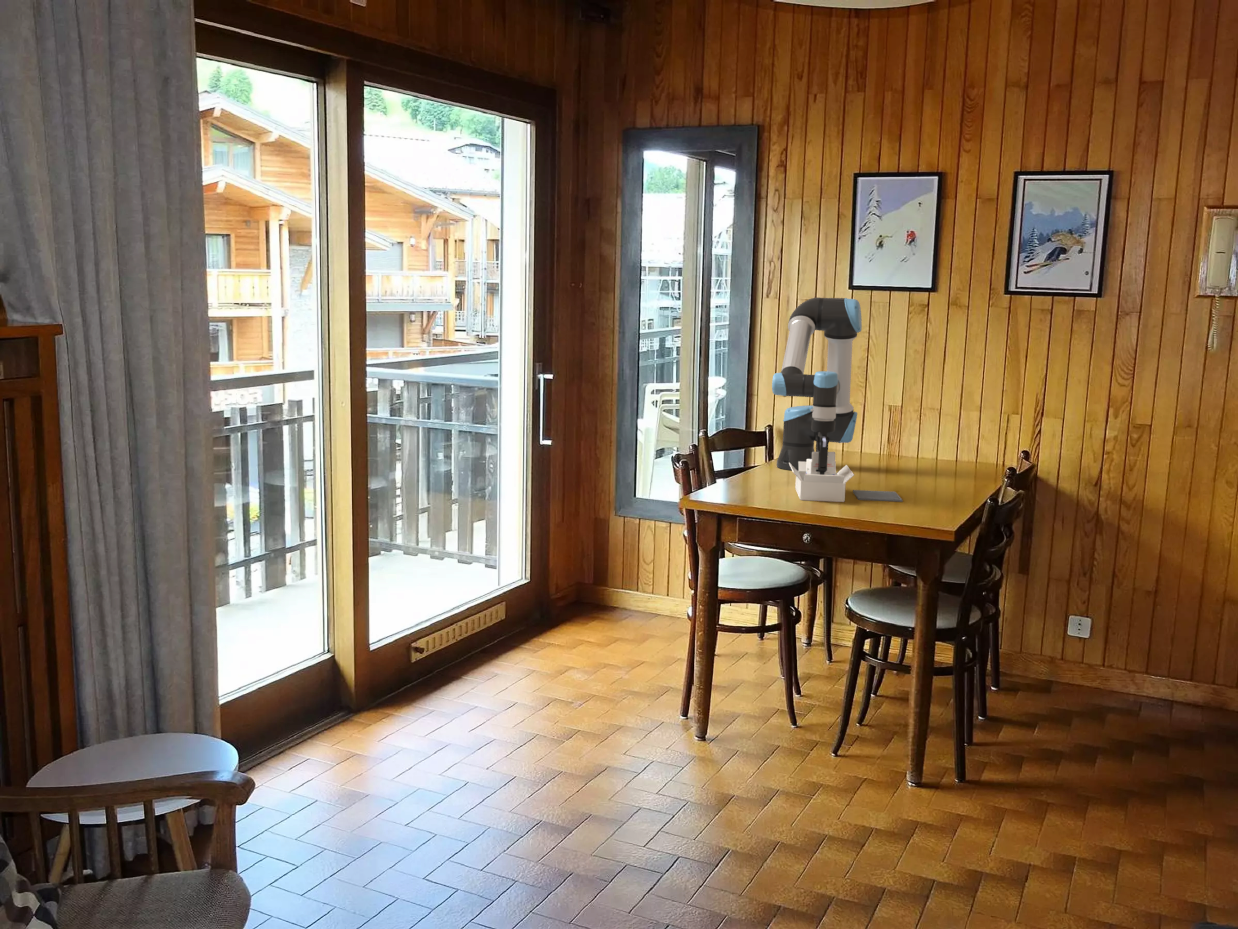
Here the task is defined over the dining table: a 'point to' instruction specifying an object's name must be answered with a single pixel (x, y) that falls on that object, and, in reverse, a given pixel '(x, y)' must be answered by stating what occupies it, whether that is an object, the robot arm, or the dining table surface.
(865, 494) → the mat
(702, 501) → the dining table surface
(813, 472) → the ink cartridge box
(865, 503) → the dining table surface
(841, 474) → the carton
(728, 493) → the dining table surface
